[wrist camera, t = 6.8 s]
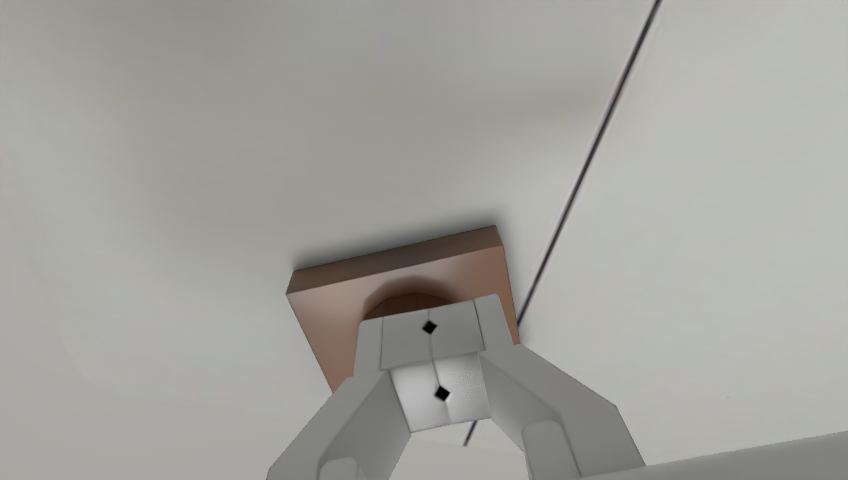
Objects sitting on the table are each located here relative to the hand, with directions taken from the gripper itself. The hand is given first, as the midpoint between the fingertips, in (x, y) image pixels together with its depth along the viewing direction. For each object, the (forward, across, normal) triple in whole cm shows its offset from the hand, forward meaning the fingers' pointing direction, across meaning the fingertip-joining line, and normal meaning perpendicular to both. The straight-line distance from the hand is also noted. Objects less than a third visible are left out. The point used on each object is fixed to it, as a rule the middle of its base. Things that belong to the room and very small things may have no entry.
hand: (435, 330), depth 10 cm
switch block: (+15, +3, +12) cm, 19 cm away
